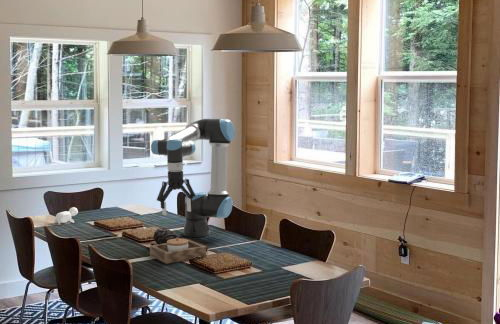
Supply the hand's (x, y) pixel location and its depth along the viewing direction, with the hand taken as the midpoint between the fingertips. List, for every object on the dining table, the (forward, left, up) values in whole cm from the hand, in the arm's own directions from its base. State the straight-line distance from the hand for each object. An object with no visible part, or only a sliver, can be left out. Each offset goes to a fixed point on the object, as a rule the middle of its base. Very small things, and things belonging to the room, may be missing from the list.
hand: (176, 213), depth 361 cm
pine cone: (-4, -18, -22) cm, 29 cm away
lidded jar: (0, +1, -22) cm, 22 cm away
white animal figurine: (+19, -109, -22) cm, 113 cm away
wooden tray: (0, +1, -22) cm, 22 cm away
